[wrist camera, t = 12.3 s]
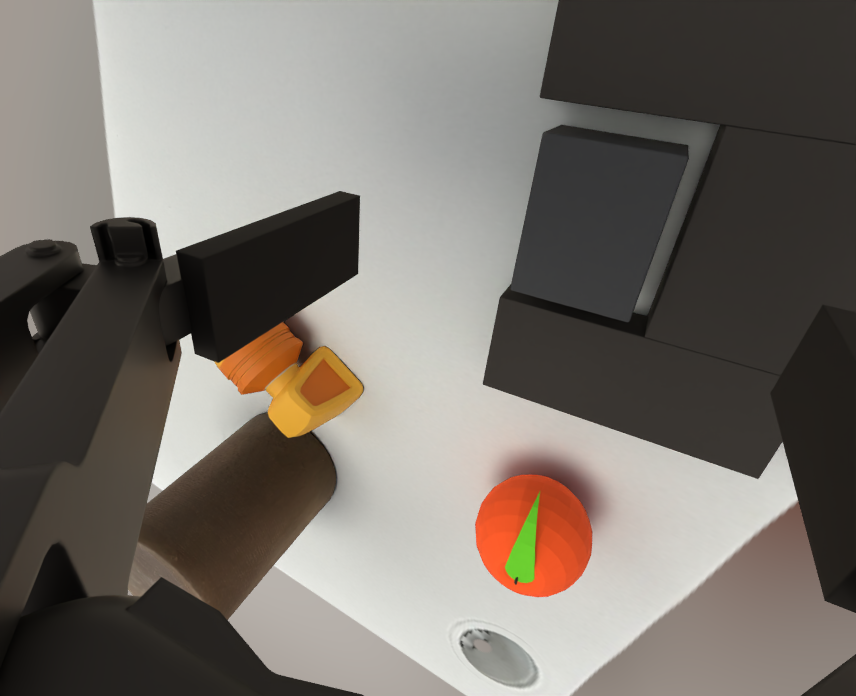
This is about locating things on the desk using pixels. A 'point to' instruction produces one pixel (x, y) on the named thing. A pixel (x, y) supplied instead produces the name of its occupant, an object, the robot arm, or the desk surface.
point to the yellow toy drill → (293, 380)
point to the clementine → (533, 535)
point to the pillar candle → (233, 515)
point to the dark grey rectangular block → (596, 218)
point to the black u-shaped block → (707, 221)
